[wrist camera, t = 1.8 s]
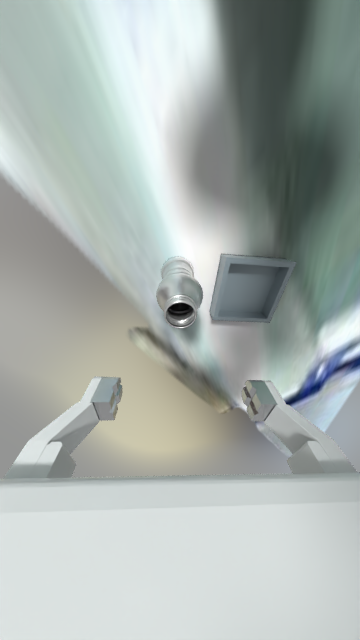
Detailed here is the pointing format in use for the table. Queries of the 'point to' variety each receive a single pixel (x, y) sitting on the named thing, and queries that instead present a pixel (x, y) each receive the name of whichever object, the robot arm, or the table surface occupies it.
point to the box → (249, 287)
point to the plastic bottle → (179, 293)
